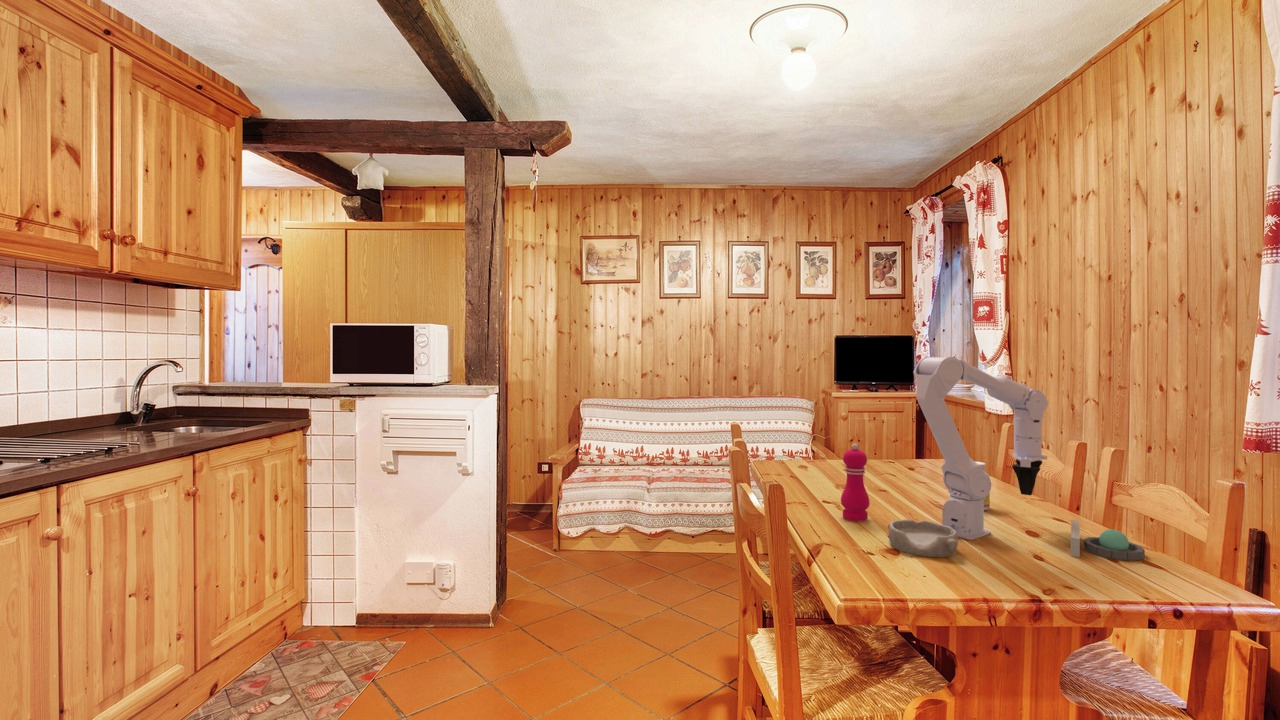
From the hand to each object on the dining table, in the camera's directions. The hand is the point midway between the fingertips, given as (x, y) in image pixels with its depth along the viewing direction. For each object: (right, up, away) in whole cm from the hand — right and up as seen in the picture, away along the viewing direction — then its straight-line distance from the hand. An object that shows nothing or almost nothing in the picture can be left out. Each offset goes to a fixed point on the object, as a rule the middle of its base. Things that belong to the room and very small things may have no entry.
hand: (1027, 491), depth 143 cm
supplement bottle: (-2, -9, +19) cm, 22 cm away
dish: (-32, -10, -12) cm, 36 cm away
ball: (+7, -7, -18) cm, 20 cm away
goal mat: (+8, -10, -17) cm, 21 cm away
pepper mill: (-39, -10, +11) cm, 41 cm away
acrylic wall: (+2, -10, -13) cm, 16 cm away
